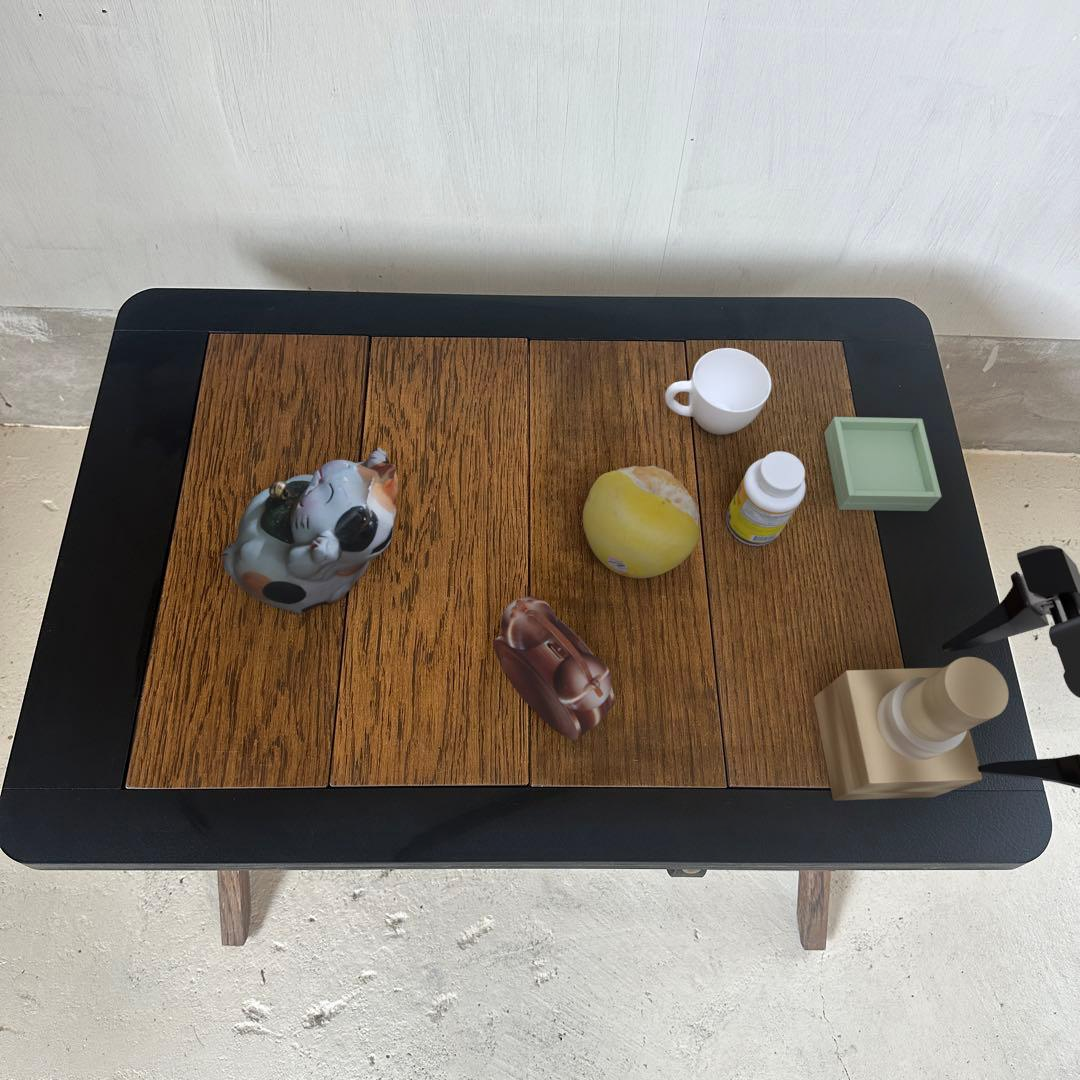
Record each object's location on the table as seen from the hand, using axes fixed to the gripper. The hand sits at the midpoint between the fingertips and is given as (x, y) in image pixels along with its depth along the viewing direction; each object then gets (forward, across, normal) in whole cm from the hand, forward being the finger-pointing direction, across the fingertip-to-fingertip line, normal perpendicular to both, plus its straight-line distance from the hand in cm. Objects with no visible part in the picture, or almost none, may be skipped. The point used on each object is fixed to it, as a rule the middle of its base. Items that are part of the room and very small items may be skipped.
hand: (961, 707), depth 63 cm
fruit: (+23, -21, -6) cm, 32 cm away
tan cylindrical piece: (+4, 0, +2) cm, 5 cm away
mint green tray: (+5, -28, +13) cm, 31 cm away
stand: (+10, 0, +8) cm, 12 cm away
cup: (+17, -35, +1) cm, 39 cm away
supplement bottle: (+15, -22, +3) cm, 27 cm away
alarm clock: (+30, -6, -12) cm, 33 cm away
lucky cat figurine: (+44, -22, -26) cm, 56 cm away
